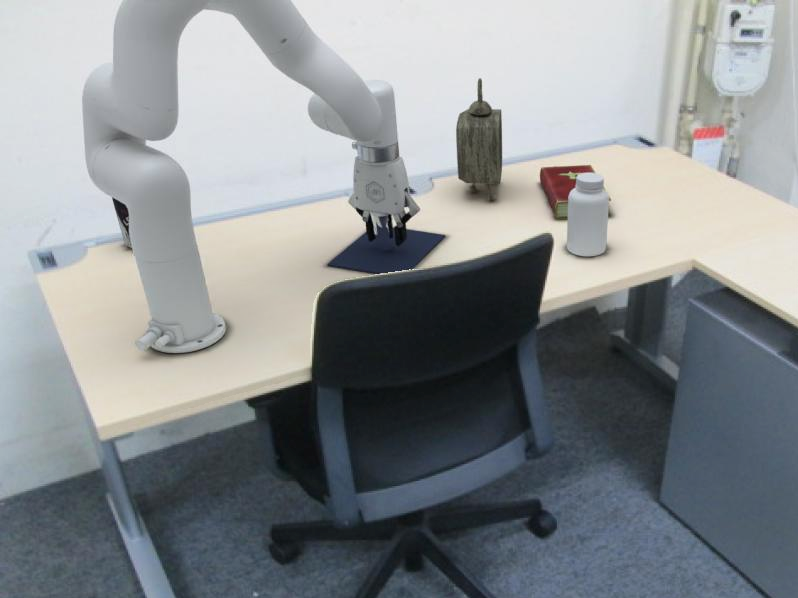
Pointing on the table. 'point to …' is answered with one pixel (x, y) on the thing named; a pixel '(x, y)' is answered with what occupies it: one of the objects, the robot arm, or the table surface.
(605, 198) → the pill bottle
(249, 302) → the table surface
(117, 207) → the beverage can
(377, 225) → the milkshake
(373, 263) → the mouse pad
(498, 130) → the tabletop clock
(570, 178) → the hardcover book
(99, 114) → the robot arm
